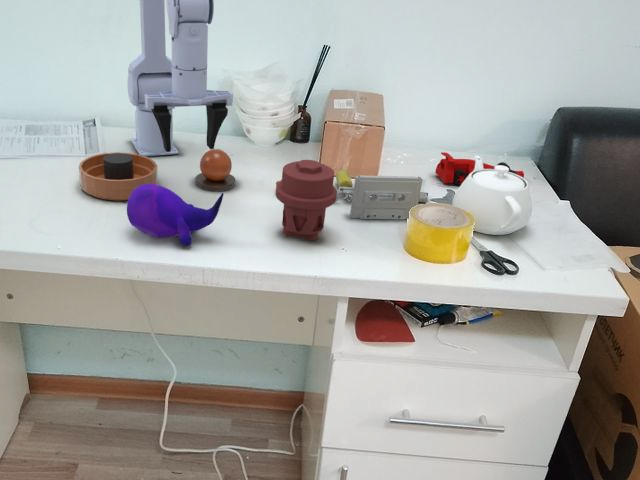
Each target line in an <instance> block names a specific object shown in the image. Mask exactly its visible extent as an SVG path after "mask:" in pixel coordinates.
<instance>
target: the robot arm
mask: <svg viewBox="0 0 640 480" xmlns="http://www.w3.org/2000/svg"><path fill="white" fill-rule="evenodd" d="M165 4H166V7H165ZM165 9H166V10H165ZM214 10H215V1H214V0H166V3H165V0H139V16H140V17H139V18H140V42H141V53H140V54H139V55H138V56H137V57H135V59H134V60H132V61H131V62H130V63H129V64H128V68H127V71H128V72H127V74H128V75H127V94H128V99H129V102H130V103H131V105H132V106H133V107H136V109H135V112H134V118H135V119H134V121H135V122H134V123H135V138H132V139H131V143H132V145H133V146H134V148H135V150H136V151H137V154H138V155H142V156H145V157H154V156H155V157H156V156H168V155H169V156H170V155H178V154H179V151H178V149H177V148H176V146H175V145H174V142H173V141H174V139H173V138H174V137H173V136H174V135H173V132H174V131H173V130H174V129H173V125H174V123H173V121H174V120H173V118H174V117H173V116H174V115H173V110H174V109H176V108H180V107H181V108H182V107H200V106H201V107H202V106H205V110H206V146H207V147H208V149H209V150H211V149H215V145H216V142H217V141H216V140H217V137H218V134H219V132H220V129H221V127H222V124H223V123H224V122H225V119H226V118H227V116H228V113H229V108H228V107H231V106H233V98H234V97H233V96H234V93H232V92H231V91H230V90H215V89H213V90H212V89H208V52H209V51H208V48H209V47H208V45H209V26H208V25H211V24H212V22H213V19H214V13H215V11H214ZM165 11H166V12H165ZM166 13H167V19H168V31H169V35H170V36H171V58H170V57H169V56H168V55H166V53H167V51H166V50H167V49H166V47H167V46H166Z"/></svg>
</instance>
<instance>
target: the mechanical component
mask: <svg viewBox="0 0 640 480" xmlns="http://www.w3.org/2000/svg"><path fill="white" fill-rule="evenodd" d="M281 179H282V181H281V180H280V181H281V182H279V183H278V184H277V186H276V185H275V197H276V199H277V200H278V201H279V202H280V203H282V204H283V207H282V208H283V210H282V221H281V226H282V235H283V236H285V237H293V238H300V239H305V240H308V241H310V242H316V241H318V240H319V233H320V232H322V230H324V227H325V221H326V220H325V219H326V210H327V208H329V207H331V206H333V205H334V204H335V203H336V200H337V199H338V195H337V191H338V189H337V188H336V187H335V186H334V182H335V181H334V179H335V171H334V169H333V168H332V167H330V166H328V165H326V164H324V163H321V162H319V161H317V160H313V159H301V160H296V161H291V162H289V163H285V165H284V166H283V167H282V173H281Z"/></svg>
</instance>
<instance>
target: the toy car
mask: <svg viewBox="0 0 640 480" xmlns="http://www.w3.org/2000/svg"><path fill="white" fill-rule="evenodd" d="M440 155H442V156H443V157H445V158H441V159H440V161H439V162H438V163H437V164H436V166H435V171H434V172H435V175H436V176H437V177H438V178H440V180H441V181H442V182H443V183H444V184H453V183H455V184H456V185H457V186H459V187H460V186H461V184H462V183H463V182H464V180H465V179H466V178H467V177H468V175H469V174H470V173H471V172H473V171H474V168H475V159H470V158H454V157H453V156H452V155H451V154H449V152H443V151H441V152H440ZM497 165H502V166H506V167H508V168H509V171H508V172H511V173H514V174H517V175H519V176H521V177H523V178H524V179H525V173H524V171H523V170H513V169H511V167H510V165H508V163H506V162H502V161H501V162H499V163H497V164H496V165H492V164H488V163H486V162H483V168H484V169H495V168H494V167H495V166H497Z"/></svg>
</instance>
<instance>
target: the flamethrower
mask: <svg viewBox="0 0 640 480" xmlns="http://www.w3.org/2000/svg"><path fill="white" fill-rule="evenodd" d="M281 181H282V178H281V179H280V180H276V182H275V187H276V186H277V184H278V183H279V182H281ZM335 181H336V183H337V186H338V189H337V196H339V195H342V196H344V198H336V201H344V200H347V203H348V202H349V203H350V202H351V203H352V197H353V190H354V184H353V182H352V179H351V176H350V172H349V171H348V170H345V169H341V170H338V172H337V173H336V175H335ZM373 195H374V194H372V195H370V197H372V196H373ZM401 196H402V194H401V195H399V196H398V197H401ZM428 196H429V192H423V191H422V192H421V191H420V196H419V201H418V203H427V201H428ZM392 197H393V193H380V195H379V198H392ZM349 198H350V199H349Z"/></svg>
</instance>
